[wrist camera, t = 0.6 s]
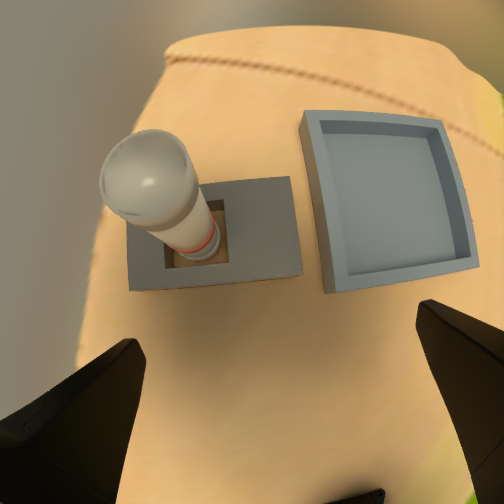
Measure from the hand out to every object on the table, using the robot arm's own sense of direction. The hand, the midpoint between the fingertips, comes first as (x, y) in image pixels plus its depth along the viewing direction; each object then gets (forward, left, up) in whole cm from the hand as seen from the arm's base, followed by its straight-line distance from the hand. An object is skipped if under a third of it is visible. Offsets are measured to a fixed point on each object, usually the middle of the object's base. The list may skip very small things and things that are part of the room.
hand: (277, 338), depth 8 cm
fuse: (+6, +4, -13) cm, 15 cm away
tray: (+8, -12, -13) cm, 20 cm away
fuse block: (+6, +3, -13) cm, 15 cm away
